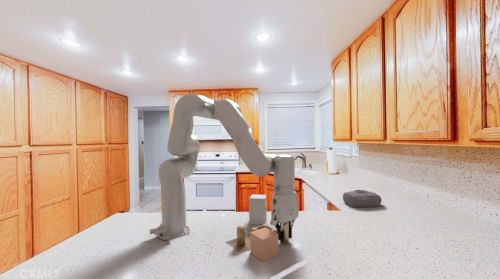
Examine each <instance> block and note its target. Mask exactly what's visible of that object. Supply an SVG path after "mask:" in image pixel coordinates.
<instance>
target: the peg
mask: <svg viewBox="0 0 500 279" xmlns="http://www.w3.org/2000/svg"><path fill="white" fill-rule="evenodd" d="M283 230H284V242H282V241H280V240H279V243H280V244H281V245H289V243H290V240H289V239H290V238H289V222H286V223H284V225H283Z"/></svg>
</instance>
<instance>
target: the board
mask: <svg viewBox="0 0 500 279" xmlns="http://www.w3.org/2000/svg"><path fill="white" fill-rule="evenodd" d="M264 227H266V228H268V229H270V230H272V231H274V232H276V233H277V229H276V228H275V227H274V226H272V225H271V226H270V224H269V225H268V224H267V223H265V224H259V225H258V226H255V227H252V228H251V232H253V231H256V230H259V229H261V228H264ZM225 243H226V244H228V245H229V246H231V247H232V248H233V249H234V250H236V251H237V252H239V254H244V253H245V252H248V251H250V233H248V234H247V233H246V227H245V226H243V225H238V226H237V227H236V238H234V239H231V240H227V241H225Z"/></svg>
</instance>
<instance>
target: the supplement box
mask: <svg viewBox="0 0 500 279" xmlns="http://www.w3.org/2000/svg"><path fill="white" fill-rule="evenodd" d="M267 214H268V213H267V194H251V195H250V196H249V198H248V223H249V225H250V224H251V225H263V224H266V223H267V221H268V220H267V217H268V216H267Z"/></svg>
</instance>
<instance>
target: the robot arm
mask: <svg viewBox="0 0 500 279" xmlns="http://www.w3.org/2000/svg"><path fill="white" fill-rule="evenodd" d="M241 110H242V109H241V108H240V106H239V105H238V103H236V102H234V101H233V100H230V99H227V98H222V99H220V100H216V99H211V98H208V97H206V96H203V95H202V94H199V93H198V94H197V93H188V94H184V95H182V96H181V97H180V98H179V99H178V100H177V101H176V103H175V106H174V110H173V114H172V115H173V116H172V123H171V125H170V126H171V127H170V131H169V135H168V141H167V146H166V147H167V152H168V153H169V154H170V155H172V156H174V157H172V158H167V159H165V160H164V161H162V162H161V163H160V164H159V168H158V171H157V172H158V173H157V174H158V177H159V183H160V193H161V194H160V195H161V223H159V226H157V227H155V228H151V229H149V235H152V234H153V235H154V236H156V235H157V237H158V238H159V239H160V240H162V241H171V240H175V239H178V238H181V237H184V236H189V234H190V233H191V228H190V226H187V207H186V205H187V204H186V203H187V202H186V185H185V184H184V181H183V179H186V178H188V177H191V175H193V173H195V172H194V171H195V170H196V166H197V161H198V156H199V153H200V140H199V138H198V137H197V136H196V135H195V134H193V129H194V117H200V118H205V119H208V120H209V119H210V120H214V121H215V120H216V121H219V122H220V124H221V125H222V127H223V128H224V129H225V131H226V133H227V134H228V135H229V137H230V138H231V140H232V142H233V144H234V147H235V149H236V151H237V154H238V156H239V157H240V158H241V160H242V162H243V163H244V165H245V166H246V167H247V169H248V170H249V172H251V174H253V175H254V176H256V177H258V178H259V177H260V178H264V177H265V176H267V175H269V174H270V173H271V174H272V173H273V187H272V191H273V192H272V197H271V206H270V216H271V219H270V221H269V226H270V225H271V226H272V227H274V228H275V229H277V233H278V241H279V242H280V241H282V242H284V230H283V225H284V223H286V222H289V239H290V240H291V239H292V238H293V229H292V228H293V227H294V223H295V221H296V220H297V219H298V218H299V202H298V195H297V191H295V189H296V188H295V187H296V186H295V185H296V184H295V183H296V182H295V179H296V178H295V176H296V175H295V174H296V173H295V172H296V170H295V165H296V164H295V161H296V160H295V157H294V156H293V155H290V154H277V155H276V154H269V153H263V151H262V150H261V148H260V147H259V145H258V144H257V142H256V141H255V138H254V135H253V134H254V133H253V129H252V127H251V125H250V124H249V123H248V122H247V120H246V119H245V117H244V116H243V115H242V111H241Z"/></svg>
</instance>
